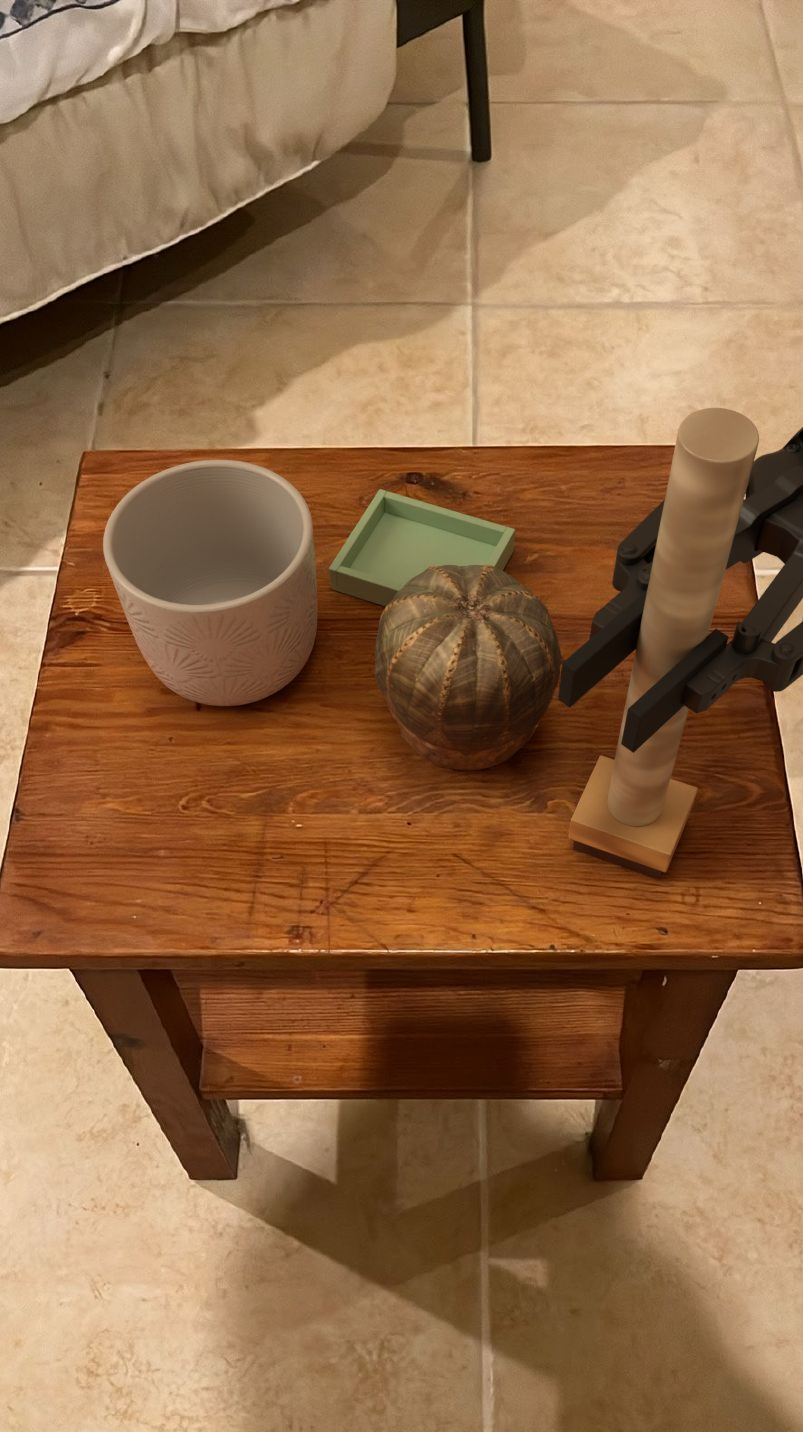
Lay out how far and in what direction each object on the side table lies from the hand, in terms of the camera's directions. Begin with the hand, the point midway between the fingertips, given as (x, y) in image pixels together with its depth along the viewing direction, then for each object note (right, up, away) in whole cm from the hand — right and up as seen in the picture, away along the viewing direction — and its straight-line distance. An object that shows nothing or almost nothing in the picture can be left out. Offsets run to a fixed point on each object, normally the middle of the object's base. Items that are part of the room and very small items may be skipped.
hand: (598, 707), depth 60 cm
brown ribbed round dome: (-5, +1, +21) cm, 22 cm away
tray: (-8, +13, +28) cm, 32 cm away
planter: (-20, +7, +25) cm, 33 cm away
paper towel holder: (+4, -6, +17) cm, 18 cm away
